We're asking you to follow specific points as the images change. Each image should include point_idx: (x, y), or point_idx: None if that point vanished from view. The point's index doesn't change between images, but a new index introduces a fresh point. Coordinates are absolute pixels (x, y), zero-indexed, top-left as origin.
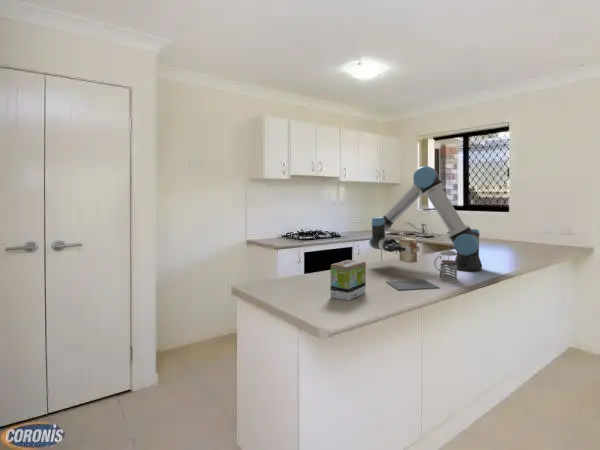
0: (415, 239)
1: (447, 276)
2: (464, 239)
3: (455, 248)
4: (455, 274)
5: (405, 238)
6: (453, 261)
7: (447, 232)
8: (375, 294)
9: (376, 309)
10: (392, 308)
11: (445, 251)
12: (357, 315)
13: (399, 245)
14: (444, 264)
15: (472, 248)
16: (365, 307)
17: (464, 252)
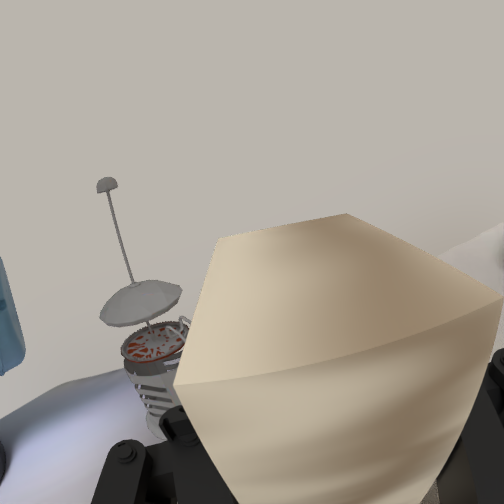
0: (224, 240)
1: (158, 423)
2: (3, 276)
3: (15, 338)
4: (174, 366)
5: (280, 340)
6: (126, 345)
7: (114, 181)
8: (498, 292)
9: (475, 248)
10: (452, 252)
11: (155, 285)
12: (493, 237)
13: (457, 432)
14: (145, 382)
15: (16, 313)
16: (494, 251)
17: (23, 342)
